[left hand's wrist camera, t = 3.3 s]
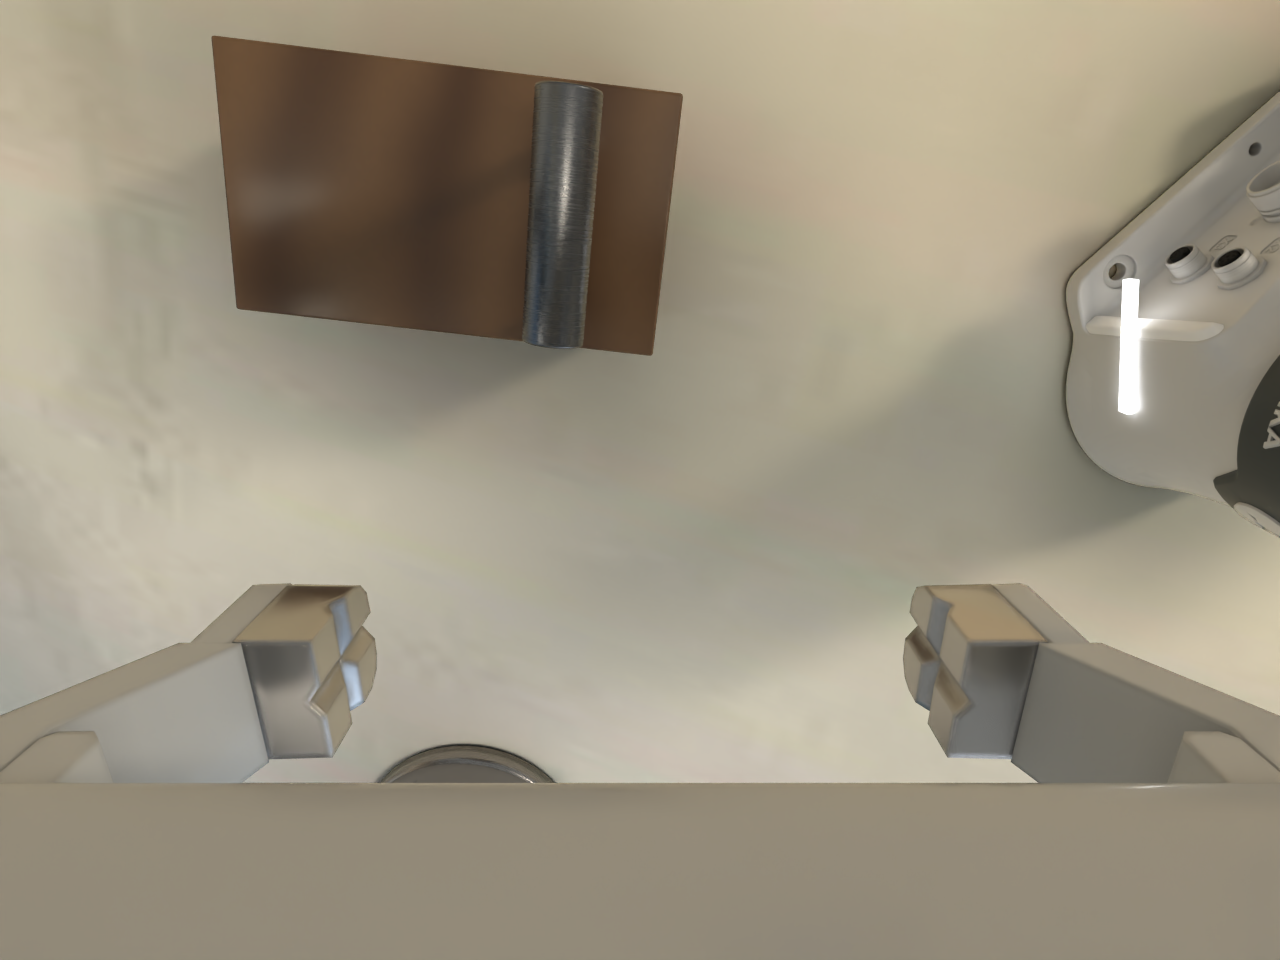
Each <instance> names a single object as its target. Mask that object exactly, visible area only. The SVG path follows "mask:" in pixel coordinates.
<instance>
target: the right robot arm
mask: <svg viewBox="0 0 1280 960" xmlns="http://www.w3.org/2000/svg"><path fill="white" fill-rule="evenodd" d="M381 783H554V782H553V781H552V780H551V779H550V778H549V777H548V776H547V775H545V774H544V773H543V772H542V771H540V770H539V769H538V768H536V767H535V766H533V765H531V764H530V763H528V762H526V761H524V760H522V759H520V758H518V757H516V756H513V755H510V754H508V753H505V752H501V751H498V750H494V749H489V748H484V747H476V746H450V747H442V748H437V749H432V750H429V751H425V752H422V753H420V754H417V755H415V756H413V757H410V758H408V759H407V760H405V761H403V762H402V763H400V764H399V765H397V766H396V767H395V768H394V769H392V770H391V771H390V772H389V773H388V774H387V775H386V776H385V778H384V779H383V780H382V781H381Z"/></svg>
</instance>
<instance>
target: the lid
mask: <svg viewBox="0 0 1280 960" xmlns="http://www.w3.org/2000/svg"><path fill="white" fill-rule="evenodd" d="M212 47H213V58H214V69H215V79H216V90H217V101H218V112H219V122H220V133H221V144H222V155H223V165H224V176H225V187H226V198H227V208H228V219H229V230H230V241H231V252H232V262H233V273H234V284H235V295H236V305H237V308H238V309H242V310H251V311H260V312H269V313H278V314H286V315H295V316H304V317H313V318H322V319H331V320H339V321H348V322H357V323H366V324H375V325H384V326H392V327H401V328H410V329H419V330H428V331H437V332H445V333H454V334H463V335H472V336H481V337H490V338H498V339H507V340H516V341H524V342H526V343H528V344H531V345H535V346H540V347H546V348H556V349H573V348H587V349H596V350H604V351H613V352H622V353H631V354H640V355H649V356H651V355H652V354H653V347H654V338H655V330H656V321H657V313H658V304H659V296H660V287H661V279H662V270H663V262H664V253H665V245H666V236H667V228H668V219H669V211H670V202H671V194H672V185H673V177H674V168H675V160H676V151H677V143H678V134H679V126H680V117H681V109H682V100H683V95H682V94H681V93H673V92H664V91H656V90H648V89H640V88H632V87H624V86H616V85H608V84H600V83H592V82H584V81H576V80H568V79H560V78H552V77H544V76H535V75H527V74H519V73H511V72H503V71H495V70H487V69H479V68H471V67H463V66H455V65H447V64H439V63H431V62H423V61H415V60H406V59H398V58H390V57H382V56H374V55H366V54H358V53H350V52H342V51H334V50H326V49H318V48H310V47H302V46H294V45H286V44H278V43H269V42H261V41H253V40H245V39H237V38H229V37H221V36H212Z"/></svg>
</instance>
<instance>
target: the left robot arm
mask: <svg viewBox="0 0 1280 960" xmlns="http://www.w3.org/2000/svg"><path fill="white" fill-rule="evenodd" d="M1114 264H1116V266H1117V272H1116V274H1115V275H1114V276H1113V277H1112V278H1110V277H1109V270H1110V268H1111V267H1112V266H1113V265H1114ZM1066 303H1067V309H1068V314H1069V318H1070V323H1071V327H1072V331H1073V345H1072V352H1071V357H1070V362H1069V367H1068V372H1067V380H1066V405H1067V412H1068V417H1069V421H1070V425H1071V428H1072V430H1073V433H1074V435H1075V437H1076V439H1077V441H1078V443H1079V444H1080V446H1081V448H1082V449H1083V450H1084V452H1085V453H1086V454H1087V456H1088V457H1089V458H1090V459H1091V460H1092V461H1093V462H1094V463H1095V464H1096V465H1097V466H1099V467H1100V468H1101V469H1103V470H1104V471H1106V472H1107V473H1109V474H1110V475H1112V476H1114V477H1116V478H1118V479H1120V480H1123V481H1125V482H1128V483H1131V484H1135V485H1139V486H1145V487H1152V488H1163V489H1170V490H1175V491H1180V492H1185V493H1189V494H1192V495H1196V496H1200V497H1203V498H1207V499H1210V500H1213V501H1216V502H1219V503H1222V504H1225V505H1228V506H1231V507H1232V508H1233V509H1235V511H1236V512H1237V513H1238V514H1239V515H1240V516H1242V517H1243V518H1245V519H1246V520H1248V521H1249V522H1251V523H1253V524H1255V525H1256V526H1258V527H1260V528H1262V529H1264V530H1266V531H1267V532H1269V533H1271V534H1273V535H1275V536H1277V537H1279V538H1280V91H1279V92H1278V93H1277V94H1276V95H1274V96H1273V97H1272V98H1271V99H1270V100H1269V101H1268V102H1266V103H1265V104H1264V105H1263V106H1262V107H1261V108H1260V109H1259V110H1257V111H1256V112H1255V113H1254V114H1253V115H1252V116H1251V117H1249V118H1248V119H1247V120H1246V121H1245V122H1244V123H1243V124H1242V125H1240V126H1239V127H1238V128H1237V129H1236V130H1235V131H1234V132H1232V133H1231V134H1230V135H1229V136H1228V137H1227V138H1226V139H1224V140H1223V141H1222V142H1221V143H1220V144H1219V145H1218V146H1217V147H1215V148H1214V149H1213V150H1212V151H1211V152H1210V153H1209V154H1207V155H1206V156H1205V157H1204V158H1203V159H1202V160H1201V161H1200V162H1198V163H1197V164H1196V165H1195V166H1194V167H1193V168H1192V169H1190V170H1189V171H1188V172H1187V173H1186V174H1185V175H1184V176H1183V177H1181V178H1180V179H1179V180H1178V181H1177V182H1176V183H1175V184H1173V185H1172V186H1171V187H1170V188H1169V189H1168V190H1167V191H1165V192H1164V193H1163V194H1162V195H1161V196H1160V197H1159V198H1158V199H1156V200H1155V201H1154V202H1153V203H1152V204H1151V205H1150V206H1148V207H1147V208H1146V209H1145V210H1144V211H1143V212H1142V213H1141V214H1139V215H1138V216H1137V217H1136V218H1135V219H1134V220H1133V221H1131V222H1130V223H1129V224H1128V225H1127V226H1126V227H1125V228H1124V229H1122V230H1121V231H1120V232H1119V233H1118V234H1117V235H1116V236H1114V237H1113V238H1112V239H1111V240H1110V241H1109V242H1108V243H1106V244H1105V245H1104V246H1103V247H1102V248H1101V249H1100V250H1099V251H1097V252H1096V253H1095V254H1094V255H1093V256H1092V257H1091V258H1089V259H1088V260H1087V261H1086V262H1085V263H1084V264H1083V265H1082V266H1080V267H1079V268H1078V269H1077V270H1076V271H1075V272H1074V273H1073V275H1072V276H1071V278H1070V280H1069V281H1068V284H1067V288H1066ZM369 614H370V607H369V602H368V597H367V592H366V591H365V590H364V589H363V588H362V587H361V585H311V584H294V585H292V584H290V583H287V584H259V585H252V586H251V587H250V588H249V589H248V590H247V591H246V592H245V593H244V594H243V595H242V596H241V597H239V598H238V599H237V600H236V601H235V602H234V603H233V604H232V605H231V606H230V607H229V608H228V609H226V610H225V611H224V612H223V613H222V614H221V615H220V616H219V617H218V618H217V619H216V620H215V621H213V622H212V623H211V624H210V625H209V626H208V627H207V628H206V629H205V630H204V631H203V632H202V633H200V634H199V635H198V636H197V637H196V638H195V639H194V640H193V641H192V642H191V643H178V644H175V645H173V646H170V647H168V648H165V649H163V650H160V651H158V652H155V653H153V654H151V655H148V656H146V657H143V658H141V659H138V660H136V661H133V662H131V663H128V664H126V665H124V666H121V667H119V668H116V669H114V670H111V671H109V672H106V673H104V674H101V675H99V676H97V677H94V678H92V679H89V680H87V681H84V682H82V683H79V684H77V685H74V686H72V687H70V688H67V689H65V690H62V691H60V692H57V693H55V694H52V695H50V696H47V697H45V698H43V699H40V700H38V701H35V702H33V703H30V704H28V705H25V706H23V707H20V708H18V709H16V710H13V711H11V712H8V713H6V714H3V715H1V716H0V960H1280V716H1279V715H1276V714H1274V713H1271V712H1269V711H1266V710H1264V709H1262V708H1259V707H1257V706H1254V705H1252V704H1249V703H1247V702H1244V701H1242V700H1239V699H1237V698H1235V697H1232V696H1230V695H1227V694H1225V693H1222V692H1220V691H1217V690H1215V689H1213V688H1210V687H1208V686H1205V685H1203V684H1200V683H1198V682H1195V681H1193V680H1191V679H1188V678H1186V677H1183V676H1181V675H1178V674H1176V673H1173V672H1171V671H1169V670H1166V669H1164V668H1161V667H1159V666H1156V665H1154V664H1151V663H1149V662H1146V661H1144V660H1142V659H1139V658H1137V657H1134V656H1132V655H1129V654H1127V653H1124V652H1122V651H1120V650H1117V649H1115V648H1112V647H1110V646H1107V645H1105V644H1102V643H1089V642H1088V641H1087V640H1086V639H1085V638H1084V637H1083V636H1082V635H1081V634H1080V633H1079V632H1077V631H1076V630H1075V629H1074V628H1073V627H1072V626H1071V625H1070V624H1069V623H1068V622H1067V621H1066V620H1064V619H1063V618H1062V617H1061V616H1060V615H1059V614H1058V613H1057V612H1056V611H1055V610H1054V609H1053V608H1052V607H1050V606H1049V605H1048V604H1047V603H1046V602H1045V601H1044V600H1043V599H1042V598H1041V597H1040V596H1039V595H1038V594H1036V593H1035V592H1034V591H1033V590H1032V589H1031V588H1030V587H1029V586H1027V585H1023V584H1020V583H1015V584H992V585H991V584H973V585H932V586H920V587H916V590H915V592H914V594H913V596H912V601H911V607H910V614H911V615H912V617H913V618H914V620H915V622H916V623H917V625H918V626H917V627H916V628H915V629H914V630H913V631H912V632H911V633H910V634H909V635H908V636H907V637H906V638H905V646H904V654H903V664H904V674H905V679H906V682H907V686H908V689H909V691H910V693H911V695H912V697H913V698H914V700H915V702H916V703H918V704H919V705H921V706H923V707H924V708H926V709H927V710H929V711H930V713H929V719H928V725H929V726H930V728H931V730H932V732H933V733H934V735H935V737H936V738H937V740H938V742H939V744H940V745H941V747H942V749H943V750H944V752H945V754H946V756H947V757H951V758H988V759H1011V762H1012V763H1013V764H1014V765H1016V766H1017V767H1018V768H1020V769H1021V770H1022V771H1024V772H1025V773H1026V774H1028V775H1029V776H1030V777H1032V778H1033V779H1034V780H1036V781H1037V782H1038V783H242V782H243V781H244V780H246V779H247V778H248V777H250V776H251V775H252V774H254V773H255V772H256V771H258V770H259V769H260V768H262V767H263V766H265V765H266V764H267V763H269V759H291V758H327V757H333V756H334V754H335V752H336V751H337V749H338V747H339V745H340V744H341V742H342V740H343V738H344V737H345V735H346V733H347V732H348V730H349V728H350V726H351V725H352V719H351V713H350V711H351V710H353V709H354V708H356V707H357V706H359V705H361V704H362V703H364V702H365V700H366V698H367V697H368V695H369V693H370V691H371V689H372V686H373V682H374V677H375V673H376V666H377V652H376V645H375V638H374V637H373V636H372V635H371V634H370V633H369V632H368V631H367V630H366V629H365V628H364V627H363V626H362V625H363V623H364V622H365V620H366V618H367V617H368V615H369Z"/></svg>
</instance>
